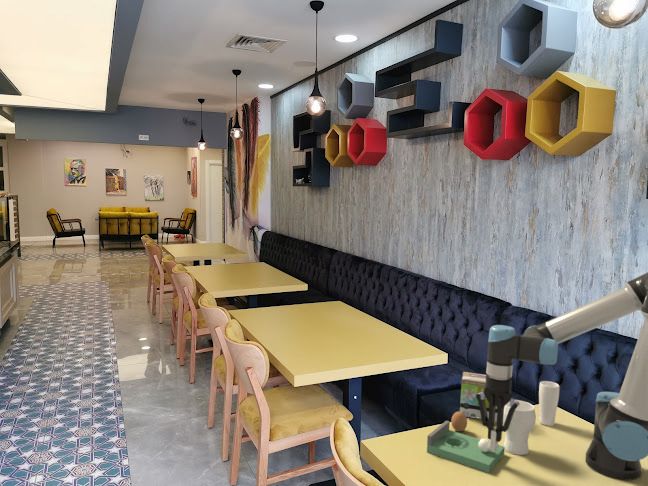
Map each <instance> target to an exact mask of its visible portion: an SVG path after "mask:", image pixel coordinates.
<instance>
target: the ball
mask: <svg viewBox="0 0 648 486" xmlns="http://www.w3.org/2000/svg"><path fill="white" fill-rule="evenodd" d="M490 442H491V440H490V439H488V438H481V439H480V441H479V443H478V447H479V449H480V450H481V451H482V452H489V451H490Z"/></svg>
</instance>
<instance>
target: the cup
mask: <svg viewBox="0 0 648 486" xmlns="http://www.w3.org/2000/svg"><path fill="white" fill-rule="evenodd" d="M513 400H514V401H516V402H519V406H518V407H517V408H516V409H515V412H514V414H513V417H512V420H511V423H510V426H509V429H508V430H507V431H506V432H505V438H504V443H503V447H505V449H504V451H506V452H508V453H510V454H514V455H517V456H525V455H528V454H529V441H528V440H529V436H530V433H531V432H532V430H533V429H534V427H535V424H536V420H537V419H536V417H537V415H536V409H535V406H534V405H533V404H531V403H530V402H527V401H524V400H519V399H513ZM510 408H511V407H510V402H508V403H507V404H506V405H505V407H504V416H503V426H504V423H505V420H506V417H507V415H508V412H509V409H510Z"/></svg>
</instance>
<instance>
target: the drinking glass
mask: <svg viewBox="0 0 648 486" xmlns="http://www.w3.org/2000/svg"><path fill="white" fill-rule="evenodd" d="M538 386H539V387H538V389H539V390H538V405H539V406H538V408H539V409H538V411H539V412H538V413H539V415H538V416H539V418H538V421H539V423H540V425H541V424H542V425H543V426H548V427H551V426H552V427H553V426H554V425H555V423H556V415H557V408H558V404H559V398H560V385H559V384H558V383H556V382H554V381H549V380H542V381H540V382H539V385H538Z"/></svg>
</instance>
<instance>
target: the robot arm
mask: <svg viewBox="0 0 648 486" xmlns="http://www.w3.org/2000/svg"><path fill="white" fill-rule="evenodd" d="M637 311H640V313H641V314H642V316H643V317H644V321H643V323H642V325H641V328H640V333H639V335H638V338H637V341H636V344H635V347H634V350H633V352H632V356H631V359H630V362H629V364H628V367H627V370H626V373H625V376H624V379H623V382H622V385H621V387H620V391H619V392H613V391H600V392H598V393H597V394H596V399H595V413H594V415H595V416H594V423H593V424H594V426H593V437H592V440H591V441H590V444H589V446H588V447H587V450H586V452H585V459H584V461H585V463H586V465H587V466H588V467H589V468H590V469H591V470H594V471H595V472H597V473H599V474H601V475H604V476H607V477H610V478H613V479H620V480H627V481H628V480H629V481H630V480H636V479H639V478H641V476H642V469H643V468H642V463H641V460H644V459H645V458H647V457H648V271H647V272H646V273H643V274H641V275H639V276H637V277H636V278H634V279H631V280H629V281H627V282H625V284H624V286H623V287H622V288H619V289H618V290H615V291H613V292H610V293H608V294H606V295H604V296H602V297H599V298H598V299H594V300H593V301H590V302H588V303H586V304H584V305H580V307H577V308H574V309H572V310H570V311H568V312H565V313H563V314H561V315H558V316H557V317H554V318H552V319H550V320H547V321H545V322H544V323H540V324H539V325H531V326H529V327H528V328H526V329H525V330H524V332H523V335H521V334H520V335H519V334H516V329H515V328H514V327H512V326H509V325H503V324H496V325H492V326H491V327H490V328H489V332H488V340H487V341H488V342H487V357H486V371H485V373H486V374H485V375H486V384H485V389H484V391H483V392H479V393H478V394H477V395H476V398H477V400H478V402H479V407H480V413H481V419H480V420H481V424H482V426H483V427H485V428H487V440H490V451H492V452H495V451H496V450H497V448H498V445H499V443H500V442H501V441H502V438H503V437H502V436H503V434H502V433H503V432H504V433H506V431H507V430H508V429H509V426H510V423H511V420H512V417H513V414H514V412H515V409H516V408H517V407H518V406H519V402H516V401H514V400H515V399H513V394H512V382H513V379H512V377H513V368H514V361H522V362H529V363H535V364H541V365H550V366H551V365H552V366H553V365H556V364H557V360H558V350H559V349H558V348H559V344H561V343H564V342H566V341H568V340H571V339H573V338H575V337H578V336H580V335H582V334H585V333H588V332H590V331H592V330H594V329H597V328H600V327H602V326H605V325H607V324H609V323H610V322H613V321H615V320H618V319H620V318H623V317H624V316H627V315H630V314H632V313H635V312H637ZM485 397H486V399H487V400H488V402H489V418H488V415H487V409H486V403H485ZM508 402H510V407H511V408H510V409H509V412H508V415H507V417H506V420H505V423H504V426H503V416H504V407H505V405H506V404H507V403H508ZM496 406H497V410H498V412H497V422H495V408H496ZM495 423H496V425H495Z"/></svg>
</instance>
